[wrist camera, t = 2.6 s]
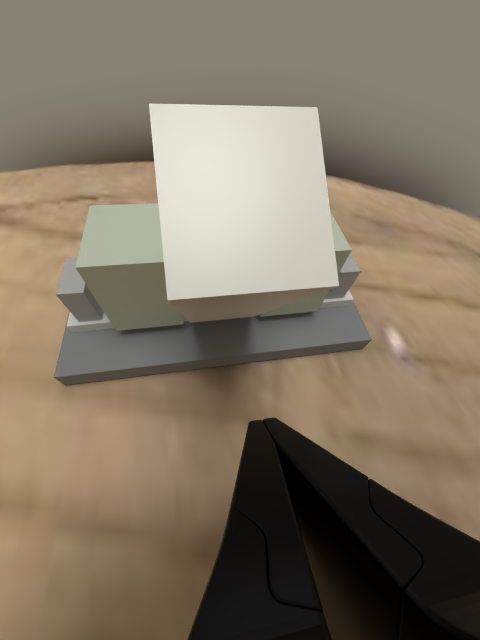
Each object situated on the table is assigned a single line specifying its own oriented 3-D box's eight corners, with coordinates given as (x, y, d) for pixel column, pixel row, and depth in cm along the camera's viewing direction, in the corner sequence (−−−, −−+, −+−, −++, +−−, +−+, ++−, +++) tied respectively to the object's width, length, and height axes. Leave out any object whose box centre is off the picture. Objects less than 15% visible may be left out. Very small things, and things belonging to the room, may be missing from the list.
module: (253, 316, 19) (339, 285, 7) (190, 322, 18) (167, 300, 6) (245, 245, 19) (315, 97, 7) (183, 248, 18) (148, 92, 7)
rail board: (362, 348, 21) (435, 278, 14) (65, 385, 18) (-34, 317, 11) (325, 267, 26) (364, 184, 19) (86, 284, 22) (26, 192, 15)
